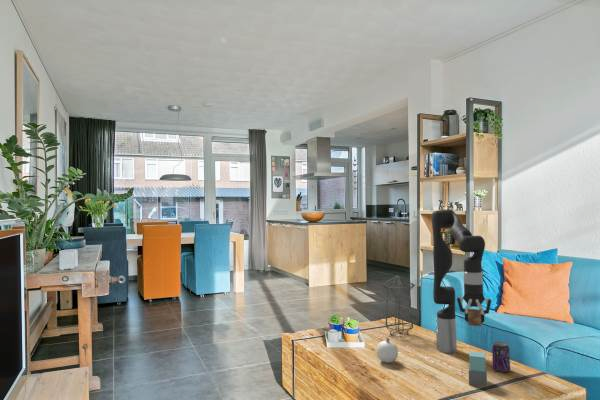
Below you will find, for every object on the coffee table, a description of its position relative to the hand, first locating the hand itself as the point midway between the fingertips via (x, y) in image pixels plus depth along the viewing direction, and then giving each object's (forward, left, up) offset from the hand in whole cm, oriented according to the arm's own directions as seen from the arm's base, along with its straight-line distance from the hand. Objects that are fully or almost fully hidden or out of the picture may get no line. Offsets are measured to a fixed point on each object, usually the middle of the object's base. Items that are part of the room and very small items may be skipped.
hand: (474, 322), depth 178 cm
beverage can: (-4, +20, -26) cm, 33 cm away
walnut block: (0, 0, -1) cm, 1 cm away
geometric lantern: (-70, +18, -26) cm, 77 cm away
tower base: (0, 0, -26) cm, 26 cm away
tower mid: (0, 0, -20) cm, 20 cm away
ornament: (-39, -17, -26) cm, 49 cm away
